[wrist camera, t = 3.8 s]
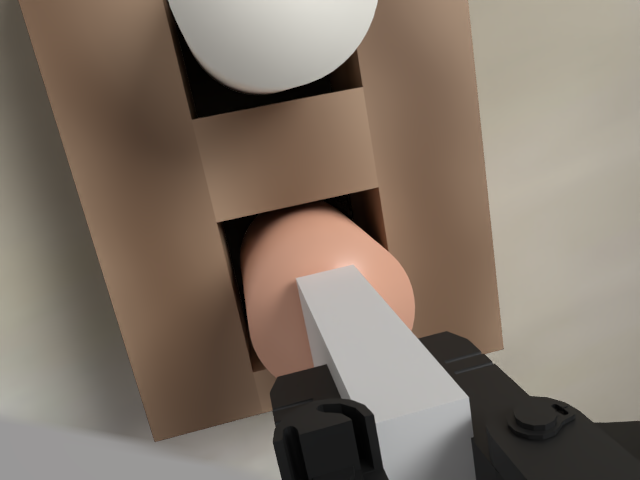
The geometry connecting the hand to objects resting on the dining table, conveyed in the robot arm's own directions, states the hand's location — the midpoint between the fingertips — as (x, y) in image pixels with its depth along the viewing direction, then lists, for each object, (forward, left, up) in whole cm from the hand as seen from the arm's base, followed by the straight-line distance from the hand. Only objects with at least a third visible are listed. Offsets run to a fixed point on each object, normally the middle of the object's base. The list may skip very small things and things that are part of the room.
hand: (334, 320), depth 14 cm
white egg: (0, -8, -5) cm, 10 cm away
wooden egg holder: (0, -4, -8) cm, 9 cm away
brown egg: (0, 0, -6) cm, 6 cm away
